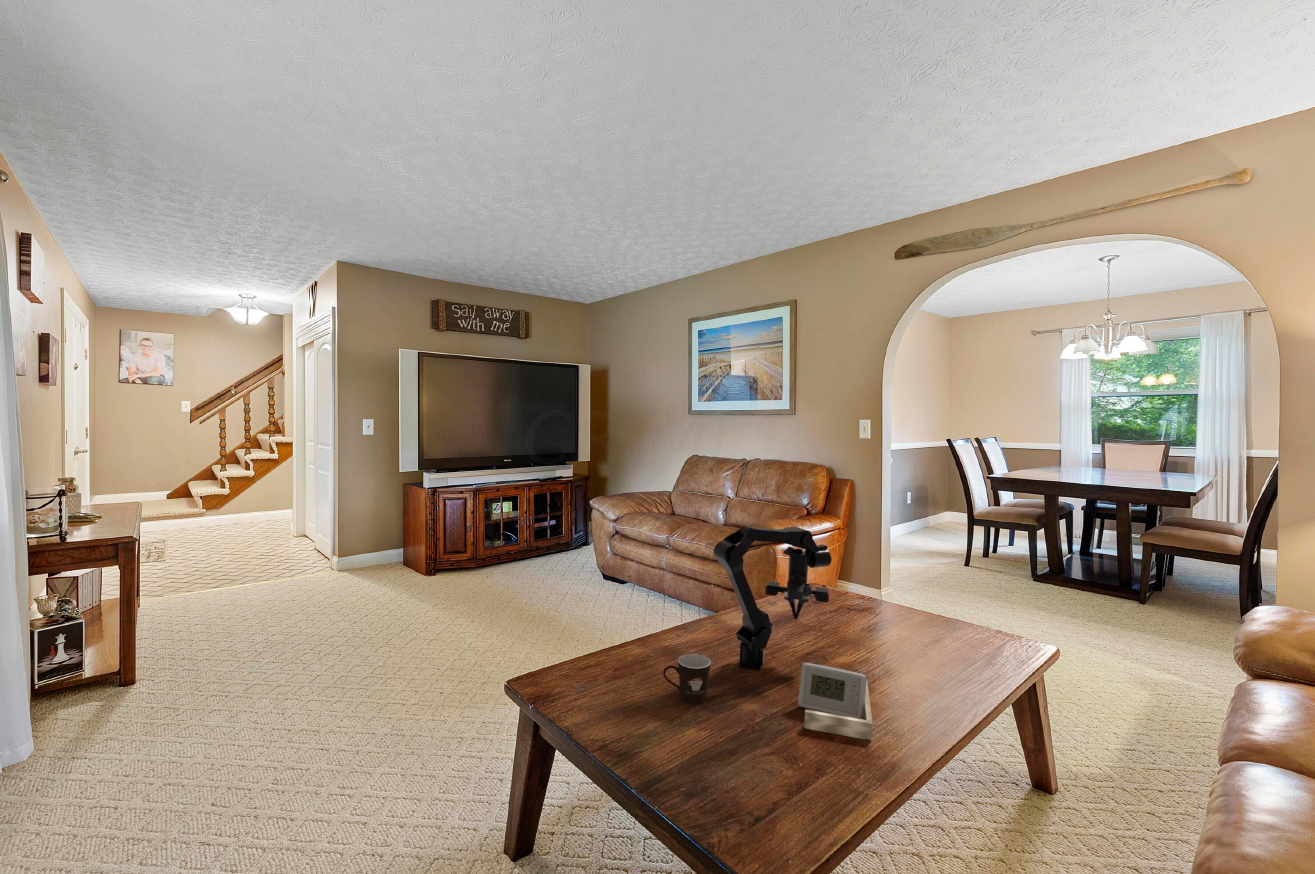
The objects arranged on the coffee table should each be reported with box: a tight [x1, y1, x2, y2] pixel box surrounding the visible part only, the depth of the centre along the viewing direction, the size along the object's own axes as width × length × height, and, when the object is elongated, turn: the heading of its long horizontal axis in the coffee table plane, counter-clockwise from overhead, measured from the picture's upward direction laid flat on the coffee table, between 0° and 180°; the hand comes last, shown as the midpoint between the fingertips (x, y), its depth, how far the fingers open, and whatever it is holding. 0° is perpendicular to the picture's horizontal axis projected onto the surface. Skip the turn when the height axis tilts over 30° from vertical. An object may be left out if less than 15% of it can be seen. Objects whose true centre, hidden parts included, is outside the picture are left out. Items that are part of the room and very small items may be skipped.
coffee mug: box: [662, 653, 712, 706], centre depth 154 cm, size 12×9×10 cm
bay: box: [803, 679, 874, 741], centre depth 150 cm, size 15×23×4 cm, turn 164°
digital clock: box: [797, 662, 867, 720], centre depth 150 cm, size 16×9×11 cm, turn 55°
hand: (795, 619), depth 181 cm, fingers closed
